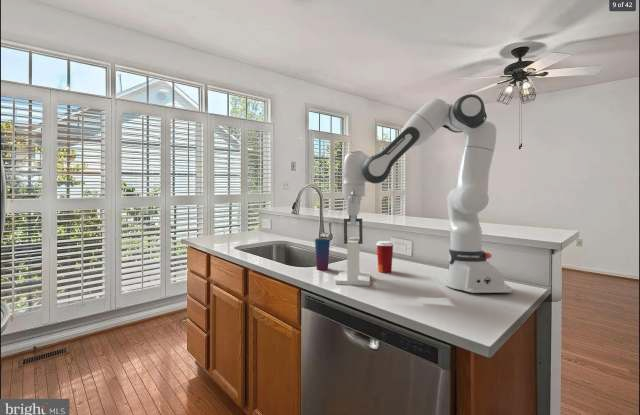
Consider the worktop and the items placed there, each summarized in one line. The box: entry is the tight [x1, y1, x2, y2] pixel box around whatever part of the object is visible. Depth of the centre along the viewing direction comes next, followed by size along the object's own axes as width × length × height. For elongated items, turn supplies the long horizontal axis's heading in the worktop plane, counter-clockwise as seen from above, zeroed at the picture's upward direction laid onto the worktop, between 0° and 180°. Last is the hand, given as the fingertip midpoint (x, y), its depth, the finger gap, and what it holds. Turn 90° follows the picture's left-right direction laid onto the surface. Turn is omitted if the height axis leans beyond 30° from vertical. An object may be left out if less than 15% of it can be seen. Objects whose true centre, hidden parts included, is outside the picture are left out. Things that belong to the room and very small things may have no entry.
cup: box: [314, 237, 331, 272], centre depth 149 cm, size 7×7×15 cm
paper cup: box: [376, 240, 394, 274], centre depth 147 cm, size 8×8×14 cm
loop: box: [343, 215, 363, 245], centre depth 133 cm, size 7×4×13 cm, turn 81°
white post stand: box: [335, 237, 371, 286], centre depth 133 cm, size 13×16×16 cm
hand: (353, 226), depth 133 cm, fingers closed
